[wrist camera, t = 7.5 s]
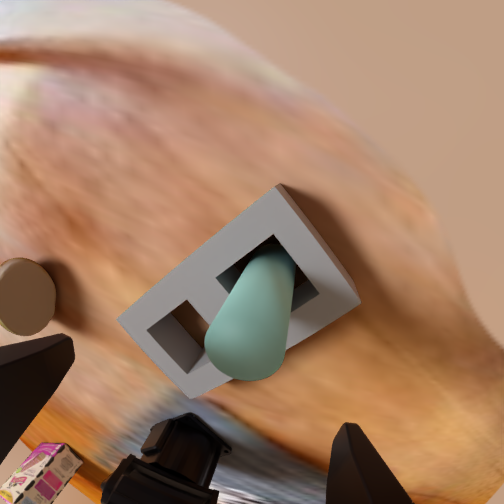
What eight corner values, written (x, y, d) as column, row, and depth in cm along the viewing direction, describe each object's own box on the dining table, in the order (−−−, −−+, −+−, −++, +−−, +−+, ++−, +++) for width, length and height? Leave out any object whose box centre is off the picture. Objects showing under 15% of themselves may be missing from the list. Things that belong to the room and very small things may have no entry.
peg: (305, 270, 20) (301, 359, 11) (269, 295, 21) (239, 391, 11) (277, 234, 20) (249, 298, 10) (241, 261, 21) (188, 338, 11)
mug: (-1, 248, 26) (-46, 254, 16) (70, 255, 29) (38, 265, 19) (0, 311, 26) (-41, 336, 16) (69, 322, 29) (42, 354, 20)
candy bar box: (64, 440, 34) (12, 504, 18) (85, 461, 35) (38, 526, 19) (40, 440, 37) (-6, 492, 22) (57, 459, 38) (16, 511, 22)
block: (353, 281, 20) (361, 302, 16) (204, 372, 24) (190, 399, 20) (280, 183, 19) (274, 186, 15) (139, 299, 23) (116, 319, 20)
